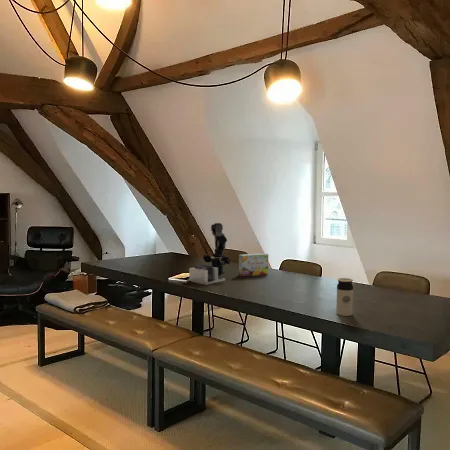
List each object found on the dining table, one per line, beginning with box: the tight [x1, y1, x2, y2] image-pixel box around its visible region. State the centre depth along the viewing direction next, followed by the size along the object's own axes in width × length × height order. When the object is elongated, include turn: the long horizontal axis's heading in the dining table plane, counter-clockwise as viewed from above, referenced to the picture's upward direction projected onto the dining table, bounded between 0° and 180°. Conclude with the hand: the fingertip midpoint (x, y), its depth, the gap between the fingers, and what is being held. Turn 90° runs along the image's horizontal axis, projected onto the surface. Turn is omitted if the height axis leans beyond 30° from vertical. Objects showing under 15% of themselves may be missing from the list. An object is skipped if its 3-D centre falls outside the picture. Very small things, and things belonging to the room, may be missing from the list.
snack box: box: [238, 252, 269, 277], centre depth 357 cm, size 21×6×15 cm, turn 114°
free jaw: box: [212, 267, 219, 281], centre depth 337 cm, size 3×13×9 cm, turn 49°
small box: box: [194, 264, 213, 282], centre depth 333 cm, size 11×6×10 cm, turn 54°
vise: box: [187, 267, 226, 285], centre depth 335 cm, size 19×17×9 cm
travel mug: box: [336, 277, 354, 317], centre depth 253 cm, size 8×8×18 cm
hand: (212, 269), depth 337 cm, fingers closed, pressing on free jaw
